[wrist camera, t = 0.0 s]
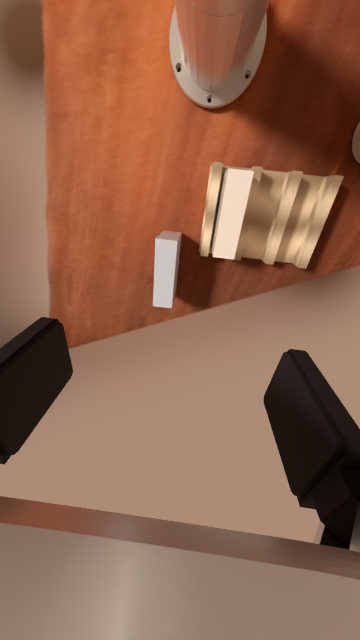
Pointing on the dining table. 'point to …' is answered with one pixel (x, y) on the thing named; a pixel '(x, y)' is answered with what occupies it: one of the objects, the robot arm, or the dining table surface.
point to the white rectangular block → (166, 268)
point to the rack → (274, 214)
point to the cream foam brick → (231, 212)
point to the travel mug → (356, 143)
